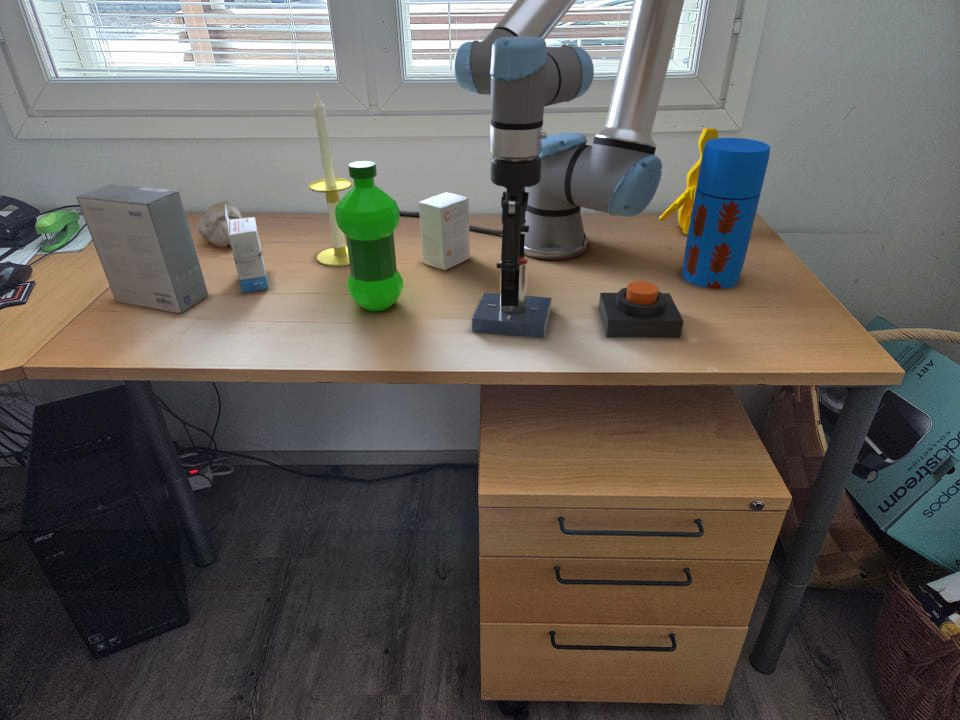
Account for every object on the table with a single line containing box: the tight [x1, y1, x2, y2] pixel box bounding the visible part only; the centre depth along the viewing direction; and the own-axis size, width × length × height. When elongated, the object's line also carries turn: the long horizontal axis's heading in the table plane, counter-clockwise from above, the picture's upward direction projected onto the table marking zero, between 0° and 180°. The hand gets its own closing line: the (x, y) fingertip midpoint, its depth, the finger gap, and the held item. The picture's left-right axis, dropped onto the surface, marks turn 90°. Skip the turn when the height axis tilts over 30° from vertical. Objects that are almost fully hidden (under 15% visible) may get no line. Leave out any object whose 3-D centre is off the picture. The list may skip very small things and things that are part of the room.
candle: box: [308, 90, 353, 267], centre depth 121 cm, size 10×10×32 cm
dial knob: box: [499, 256, 528, 313], centre depth 101 cm, size 4×4×9 cm
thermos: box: [681, 137, 771, 290], centre depth 112 cm, size 11×11×25 cm
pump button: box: [626, 280, 660, 304], centre depth 101 cm, size 5×5×2 cm
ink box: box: [225, 205, 269, 294], centre depth 115 cm, size 8×5×15 cm, turn 20°
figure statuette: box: [658, 127, 719, 236], centre depth 134 cm, size 18×8×22 cm, turn 86°
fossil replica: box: [198, 200, 243, 248], centre depth 135 cm, size 12×8×10 cm
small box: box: [418, 191, 471, 271], centre depth 123 cm, size 8×6×13 cm
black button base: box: [598, 286, 685, 339], centre depth 103 cm, size 12×10×5 cm
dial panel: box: [471, 291, 552, 339], centre depth 105 cm, size 12×10×3 cm
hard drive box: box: [76, 184, 209, 314], centre depth 108 cm, size 16×8×20 cm, turn 71°
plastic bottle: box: [335, 160, 404, 312], centre depth 104 cm, size 10×10×25 cm
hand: (512, 286), depth 102 cm, fingers open, 13 cm apart
